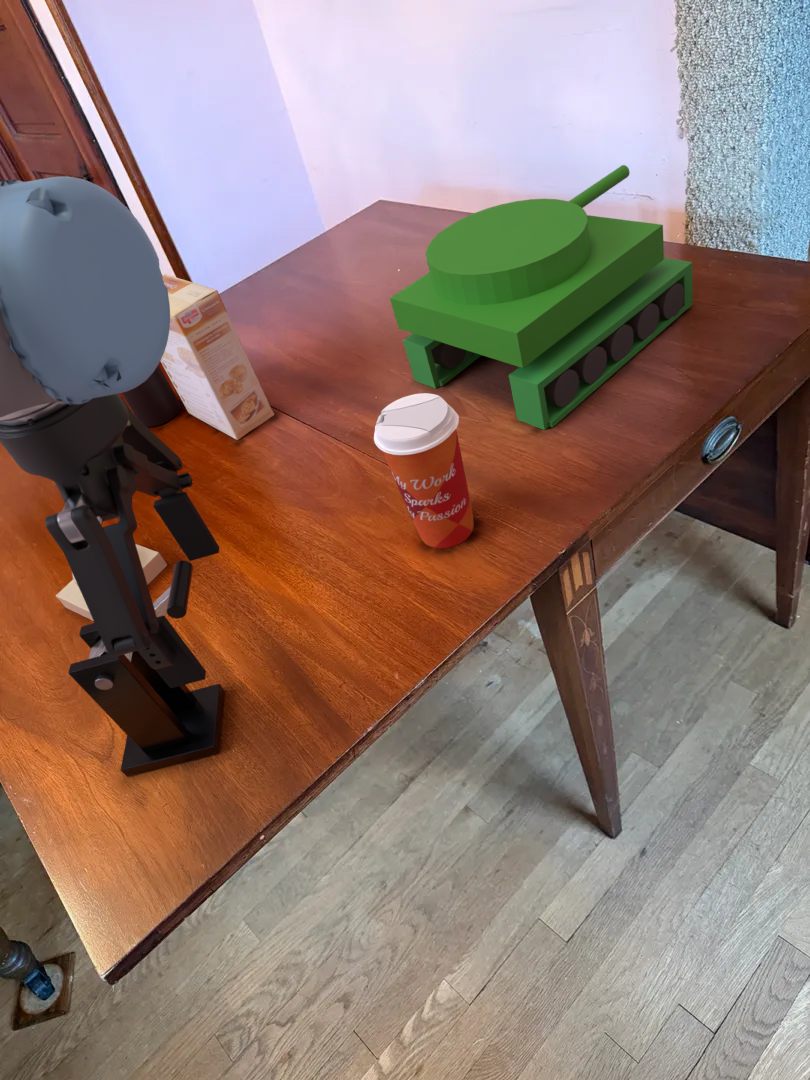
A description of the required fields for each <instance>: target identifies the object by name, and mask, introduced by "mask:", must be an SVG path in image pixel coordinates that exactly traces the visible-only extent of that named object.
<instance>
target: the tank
mask: <svg viewBox="0 0 810 1080" xmlns="http://www.w3.org/2000/svg"><path fill="white" fill-rule="evenodd" d="M630 174H631V173H630V168H629V167H628V166H627V165H625V164H622V165H620V166H619V167H617V168H616V169H614V170H613V171H611V172H609V174H607V175H605V176H604V177H602V178H601V179H599V180H598V181H596V182H595V183H594V184H592V185H591V186H589V187H587V188H586V189H585V190H583V191H581V192H579V194H577V195H576V196H574V197H572V198H571V199H570V200H564V199H557V198H533V199H532V198H529V199H523V200H515V201H511V202H505V203H502V204H498V205H494V206H490V207H488V208H485V209H482V210H479V211H476V212H473V213H471V214H469V215H467V216H465V217H463V218H460V219H458V220H456V221H455V222H453V223H452V224H451V223H450V225H448V226H447V227H446V228H444V229H442V230H441V231H440V232H438V234H436V236H434V238H432V239H431V241H430V243H429V244H428V246H427V248H426V251H425V257H426V258H425V259H426V263H427V267H428V272H427V273H426V274H424V275H423V276H421V277H420V278H418V279H416V280H415V281H413V282H412V283H410V284H409V285H407V286H406V287H404V288H403V289H401V290H399V291H398V292H397V293H395V294H394V295H393V296H391V297H390V298H389V300H390V304H391V307H392V311H393V314H394V316H395V320H396V324H397V328H398V330H401V331H404V332H407V333H411V334H409V335H408V336H407V337H405V338H404V339H402V343H403V346H404V350H405V354H406V357H407V360H408V363H409V368H410V370H411V373H412V377H413V380H414V381H415V382H417V383H419V384H422V385H425V386H428V387H430V388H432V389H438V388H439V387H444V386H445V385H446V384H447V383H449V382H450V381H451V380H452V379H453V378H455V377H456V376H457V375H459V374H460V373H461V372H462V371H464V370H465V369H466V368H468V367H469V366H470V365H471V364H473V363H474V362H475V361H476V360H478V359H479V358H480V357H482V356H484V357H486V358H490V359H493V360H496V361H499V362H502V363H505V364H509V365H512V366H515V367H518V368H516V369H515V370H513V371H512V372H511V373H509V374H508V378H509V385H510V390H511V394H512V395H511V396H512V401H513V405H514V411H515V415H516V420H517V421H519V422H521V423H524V424H527V425H530V426H533V427H536V428H538V429H541V430H542V431H546V430H547V429H548V428H555V426H556V425H557V424H559V422H561V421H562V420H563V419H564V418H565V417H567V416H568V415H569V414H570V413H571V412H572V411H573V410H574V409H575V408H577V407H578V406H579V405H580V404H581V403H582V402H584V401H585V400H586V399H587V398H588V397H589V396H590V395H592V393H594V392H595V391H596V390H597V389H598V388H600V387H601V385H603V384H604V383H605V382H607V380H608V379H610V377H612V376H613V375H614V374H615V373H616V372H618V371H619V370H620V369H621V368H622V367H623V366H625V364H627V363H628V362H629V361H630V360H631V359H633V357H635V356H636V355H637V354H639V352H641V350H642V349H644V348H645V347H646V346H647V345H648V344H649V343H650V342H651V341H653V340H654V339H655V338H656V337H657V336H659V335H660V334H661V333H662V332H663V331H664V330H665V329H667V327H669V326H670V325H671V324H672V323H673V322H674V321H676V320H677V319H678V318H679V317H680V316H681V315H682V314H683V313H684V312H686V311H687V310H688V309H690V307H692V306H693V304H694V303H693V302H694V301H693V261H686V260H682V259H676V258H669V257H665V250H664V246H665V245H664V224H661V223H660V224H659V223H652V222H644V221H637V220H629V219H621V218H612V217H605V216H598V215H597V216H596V215H589V214H587V212H586V210H585V209H584V208H585V207H586V206H588V205H589V204H591V203H592V202H594V201H596V199H598V198H599V197H601V196H602V195H604V194H606V193H607V192H608V191H609V190H610V189H611V190H612V189H613V188H614V187H615V186H617V185H619V184H620V183H621V182H623V181H624V180H625V179H627V178H628V177H629V176H630Z"/></svg>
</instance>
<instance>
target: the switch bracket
mask: <svg viewBox="0 0 810 1080" xmlns="http://www.w3.org/2000/svg"><path fill="white" fill-rule="evenodd" d="M78 636H79V637H80V638H81V639H82V641H83V642H85V644H86V645H87V646H88V648H89V649H91V648H92V647H93V646H94V645H95V644H96V643H97V642H98V641H99V640H100V639H101V636H100V634H99V632H98V630H97V627H96V625H95V623H94V622H93V623H88V624H86V625H83V626H81V627H80V630H79V634H78ZM67 674H68V675H69V676H70V677H71V678H72V679H73V680H74V682H76V683H77V685H79V687H80V688H81V689H83V690H84V692H85V693H86V694H87V695H88V696H89V697H90V698H91V699H92V700H93V701H94V702H95V703H96V704H97V706H99V707H100V708H101V709H102V710H103V712H104V713H105V714H106V715H107V716H108V717H109V718H110V719H111V720H112V721H113V722H114V723H115V724H116V725H117V726H118V727H119V728H120V729H121V731H123V733H125V734H126V739H125V745H124V750H123V754H122V759H121V765H120V772H121V773H122V774H124V776H125V777H127V778H128V777H131V776H135V775H139V774H143V773H147V772H152V771H155V770H159V769H163V768H167V767H170V766H175V765H178V764H181V763H186V762H187V763H188V762H190V761H194V760H198V759H202V758H206V757H210V756H213V755H217V754H220V748H221V736H222V725H223V724H222V723H223V715H224V713H223V712H224V702H225V701H224V700H225V688H224V687H223V686H222V685H221V683H216V684H213V685H208V686H205V687H201V688H198V689H193V690H191V689H190V688H189V687H188V686H187V684H186V685H182V686H178V687H174V688H170V687H169V686H168V685H167V683H166V682H165V681H164V680H163V679H162V677H161V676H160V675H159V674H158V672H157V671H156V670H155V669H153V668H151V667H150V666H149V664H148V662H146V661H145V660H144V658H143V657H142V656H141V655H140V654H139V652H138V651H135V652H133V653H132V658H131V662H130V661H129V659H128V658H127V657H126V656H125V655H120V656H116V657H111V656H110V655H109V654H105V655H101V656H98V657H94V658H90V659H89V658H87V659H84V660H80V661H75V662H72V663H71V664H70V665H69V668H68V672H67Z"/></svg>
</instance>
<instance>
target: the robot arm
mask: <svg viewBox="0 0 810 1080" xmlns="http://www.w3.org/2000/svg"><path fill="white" fill-rule="evenodd" d="M162 276H163V274H162V271H161V268H160V259H159V255H158V253H157V251H156V248H155V247H154V245H153V243H152V241H151V239H150V237H149V235H148V233H147V232H146V230H145V229H144V227H143V226H142V224H141V223H140V222H139V220H138V219H137V217H135V215H134V214H133V213H132V211H131V210H129V208H128V207H126V206H125V204H124V203H123V202H121V201H120V200H119V199H118V198H117V197H116V196H115V195H113V194H112V193H111V192H109V191H108V190H107V189H105V188H103V187H101V186H100V185H98V184H96V183H94V182H91V181H88V180H87V179H82V178H79V177H73V176H50V177H45V178H39V179H34V180H28V181H23V180H19V179H3V180H1V181H0V444H1V445H2V447H3V448H4V449H5V451H7V453H8V454H9V456H10V457H11V458H12V459H13V460H14V462H15V463H16V464H17V466H18V467H19V468H20V469H21V470H22V471H24V472H26V473H28V474H30V475H33V476H38V477H42V478H45V479H48V480H50V481H52V482H54V484H55V486H56V487H57V489H58V491H59V493H60V496H61V498H62V501H63V502H64V505H63V508H62V509H61V511H60V512H57V513H52V514H50V515H47V516H46V517H45V520H44V521H45V523H44V524H45V527H46V529H47V531H48V533H49V534H50V536H52V538H53V539H54V541H55V542H56V544H57V546H58V547H59V548H60V550H61V551H62V553H63V554H64V557H65V559H66V562H67V563H68V565H69V568H70V570H71V574H72V573H73V575H74V577H75V580H76V582H77V584H78V586H79V589H80V591H81V593H82V595H83V598H84V600H85V602H86V605H87V607H88V609H89V611H90V614H91V616H92V618H93V620H94V621H93V623H95V625H96V627H97V630H98V632H99V634H100V636H101V639H102V641H103V643H104V645H105V648H106V650H107V652H108V654H109V655H110V656H111V657H116V656H120V655H124V654H127V653H131V652H135V651H138V652H139V654H140V655H141V656H142V657H143V658H144V660H145V661H146V662H148V664H149V666H150V667H151V668H153V669H155V670H156V671H157V672H158V674H159V675H160V676H161V677H162V679H163V680H164V681H165V682H166V683H167V685H168V686H169V687H170V688H174V687H178V686H182V685H186V686H187V685H189V684H193V683H196V682H199V681H200V682H201V681H203V680H206V674H207V670H206V669H205V668H204V666H203V665H202V663H201V662H200V661H199V659H198V658H197V657H196V656H195V655H194V653H193V652H192V650H191V649H190V647H189V646H188V645H187V644H186V642H185V640H183V638H182V637H181V636H180V634H179V633H178V632H177V630H176V629H175V628H174V626H173V625H172V623H170V621H169V620H168V618H167V617H166V615H165V616H164V615H163V616H160V617H157V616H156V613H155V609H154V606H153V603H154V601H153V599H152V596H151V592H150V589H149V586H148V585H149V584H148V585H147V582H146V578H145V575H144V572H143V568H142V565H141V561H140V558H139V555H138V551H137V548H136V544H137V543H136V541H135V538H134V534H135V532H136V530H137V528H138V522H137V518H136V515H135V513H134V509H133V497H134V495H135V494H136V492H140V493H142V494H145V495H148V496H151V497H154V498H156V497H157V498H158V497H159V498H158V499H156V500H154V502H153V506H152V507H153V508H154V510H155V511H156V513H157V515H158V516H159V517H160V519H161V520H162V522H163V523H164V525H165V526H166V528H167V529H168V531H169V532H170V534H171V535H172V537H173V538H174V540H175V542H176V543H177V545H178V546H179V547H180V549H181V551H182V552H183V554H184V555H185V557H186V558H187V559H188V562H192V561H196V560H199V559H203V558H206V557H210V556H214V555H217V554H219V553H220V546H219V544H218V542H217V541H216V539H215V537H214V536H213V534H212V533H211V531H210V529H209V527H208V526H207V524H206V523H205V521H204V520H203V518H202V517H201V514H200V513H199V511H198V510H197V508H196V506H195V505H194V503H193V502H192V500H191V498H190V497H189V495H188V494H187V492H186V491H184V489H187V488H191V487H193V484H194V483H193V479H192V476H191V474H190V473H189V472H184V473H181V474H178V471H182V470H183V461H182V459H181V458H180V457H179V456H178V455H177V454H176V453H175V452H174V451H173V450H172V449H171V448H170V447H169V446H168V445H167V444H166V443H165V442H164V441H163V440H162V439H160V438H159V437H158V436H157V435H156V434H155V433H154V432H153V431H152V430H151V429H149V427H146V426H145V425H144V424H143V423H142V422H141V421H140V420H139V419H138V418H137V417H136V416H135V414H134V412H133V411H132V409H131V407H130V406H129V404H128V403H127V401H126V400H125V398H123V397H122V396H120V394H122V393H123V392H127V391H129V390H131V389H134V388H135V387H137V386H139V385H140V384H142V383H143V382H144V381H146V380H147V379H148V378H149V377H150V375H151V374H152V373H153V372H154V370H155V369H156V367H157V366H158V364H159V365H160V363H161V362H160V360H161V358H162V356H163V354H164V351H165V348H166V345H167V341H168V336H169V329H170V304H169V296H168V289H167V288H166V286H165V284H164V281H163V277H162ZM115 519H118V521H117V522H115V523H112V524H109V525H106V526H102V525H103V522H108V521H111V520H115ZM73 575H72V576H73Z"/></svg>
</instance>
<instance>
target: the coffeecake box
mask: <svg viewBox="0 0 810 1080" xmlns="http://www.w3.org/2000/svg"><path fill="white" fill-rule="evenodd" d="M162 277H163V281H164V284H165V286H166V288H167V289H168V296H169V304H170V329H169V336H168V341H167V345H166V348H165V351H164V354H163V356H162V358H161V360H160V362H159V363H161V365H162V368H163V369H164V371H165V373H166V374H167V376H168V378H169V380H170V382H171V384H172V385H173V387H174V389H175V390H176V392H177V394H178V396H179V399H180V400H181V402H182V404H183V405H184V407H185V409H186V411H187V413H188V414H189V415H191V416H193V417H194V418H197V419H198V420H200V421H202V422H204V423H206V424H208V425H209V426H210V427H212V428H215V429H216V430H217V431H220V432H222V433H223V434H225V435H227V436H229V437H231V438H232V439H234V440H236V441H238V440H240V439H241V438H243V437H244V436H246V435H247V434H249V433H250V432H251V431H253V430H254V429H256V428H258V427H260V426H261V425H262V424H264V423H266V422H267V421H268V420H270V419H271V418H272V417H274V416H275V413H274V411H273V409H272V407H271V405H270V403H269V400H268V398H267V397H266V394H265V391H264V389H263V388H262V385H261V383H260V381H259V379H258V377H257V374H256V372H255V369H254V368H253V365H252V363H251V362H250V359H249V357H248V355H247V353H246V350H245V348H244V346H243V344H242V341H241V339H240V337H239V335H238V333H237V330H236V328H235V326H234V323H233V322H232V319H231V318H230V315H229V314H228V310H227V308H226V306H225V305H224V302H223V300H222V298H221V296H220V293H219V290H218V289H216V288H212V287H208V286H207V285H202V284H199V283H196V282H193V281H189V280H186V279H183V278H182V279H181V278H179V277H175V276H173V275H169V274H162Z"/></svg>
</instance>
